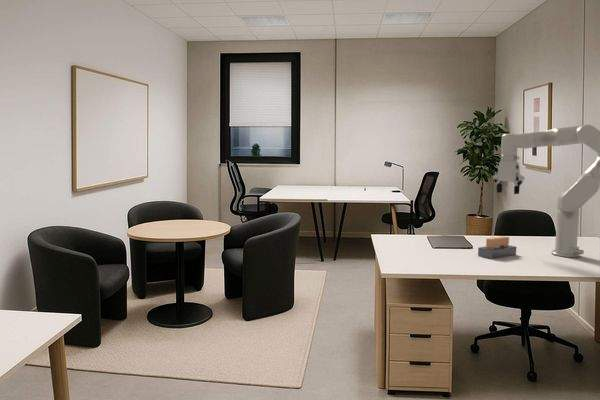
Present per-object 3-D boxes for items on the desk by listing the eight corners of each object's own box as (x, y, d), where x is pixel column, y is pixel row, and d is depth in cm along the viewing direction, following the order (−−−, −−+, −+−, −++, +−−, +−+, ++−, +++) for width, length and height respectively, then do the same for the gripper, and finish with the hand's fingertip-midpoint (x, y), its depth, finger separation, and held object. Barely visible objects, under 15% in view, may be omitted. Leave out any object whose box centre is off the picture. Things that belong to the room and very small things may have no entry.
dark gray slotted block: (516, 254, 273) (516, 246, 272) (491, 258, 263) (492, 250, 262) (501, 251, 279) (502, 243, 279) (477, 255, 270) (478, 247, 269)
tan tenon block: (508, 254, 274) (509, 237, 273) (490, 257, 266) (491, 239, 265) (502, 253, 276) (503, 236, 275) (485, 256, 269) (486, 238, 268)
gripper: (529, 159, 275) (527, 194, 277) (498, 158, 289) (497, 191, 291) (520, 159, 271) (518, 194, 272) (489, 158, 285) (488, 192, 286)
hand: (507, 193), depth 282 cm, fingers open, 9 cm apart
